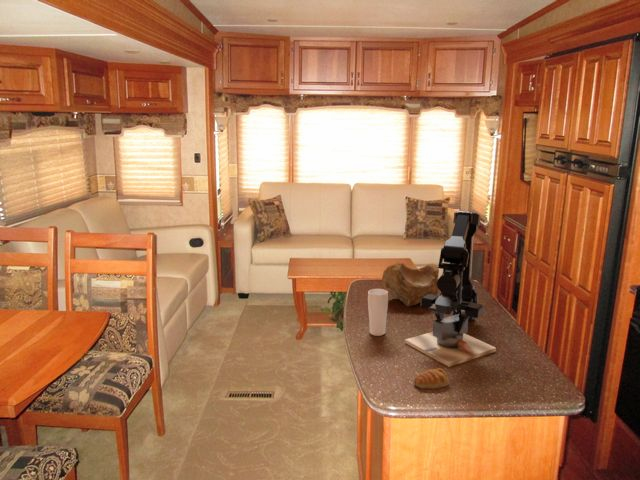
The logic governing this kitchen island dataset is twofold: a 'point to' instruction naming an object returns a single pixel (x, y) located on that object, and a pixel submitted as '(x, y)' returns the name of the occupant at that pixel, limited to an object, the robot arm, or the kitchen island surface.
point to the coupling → (450, 332)
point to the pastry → (432, 379)
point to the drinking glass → (377, 311)
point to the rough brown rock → (410, 282)
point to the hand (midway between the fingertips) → (450, 331)
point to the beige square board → (450, 349)
